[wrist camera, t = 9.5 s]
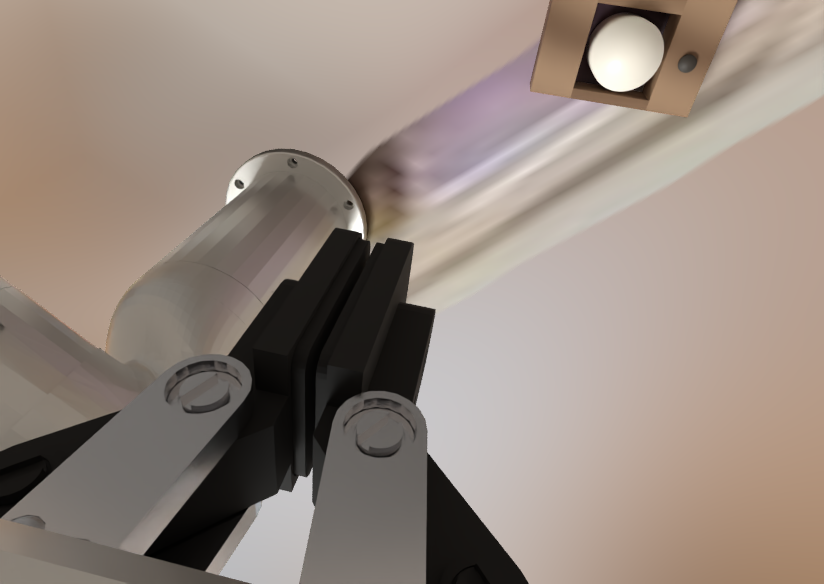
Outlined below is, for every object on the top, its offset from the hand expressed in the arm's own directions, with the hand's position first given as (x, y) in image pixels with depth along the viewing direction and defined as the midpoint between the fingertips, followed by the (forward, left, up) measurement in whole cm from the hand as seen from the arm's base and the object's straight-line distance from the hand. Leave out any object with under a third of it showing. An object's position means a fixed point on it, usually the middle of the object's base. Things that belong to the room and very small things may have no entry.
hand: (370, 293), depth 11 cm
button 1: (+2, -9, -29) cm, 30 cm away
